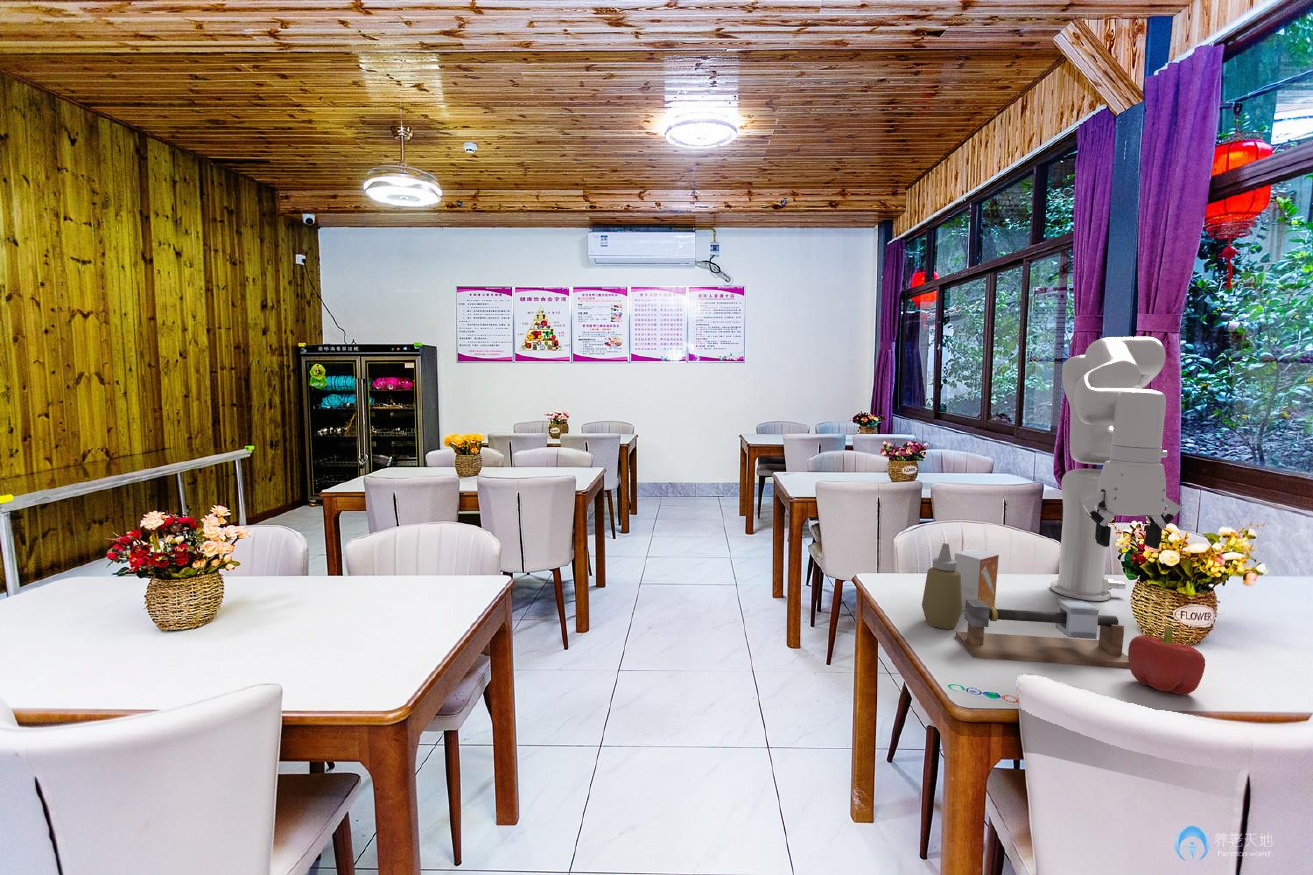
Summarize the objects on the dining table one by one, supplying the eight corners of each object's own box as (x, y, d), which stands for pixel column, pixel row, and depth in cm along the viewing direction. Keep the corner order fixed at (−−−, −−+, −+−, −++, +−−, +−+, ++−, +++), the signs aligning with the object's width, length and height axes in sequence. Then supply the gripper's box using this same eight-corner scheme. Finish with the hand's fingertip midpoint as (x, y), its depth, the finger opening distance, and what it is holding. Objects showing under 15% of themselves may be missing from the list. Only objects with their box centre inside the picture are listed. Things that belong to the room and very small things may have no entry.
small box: (976, 615, 141) (980, 559, 140) (950, 606, 146) (953, 552, 145) (995, 608, 145) (999, 554, 144) (969, 599, 151) (972, 547, 149)
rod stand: (1105, 645, 125) (1109, 602, 125) (1137, 668, 116) (1141, 621, 115) (955, 635, 129) (957, 594, 128) (973, 657, 119) (976, 612, 118)
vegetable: (1127, 666, 116) (1131, 615, 115) (1200, 684, 110) (1205, 630, 109) (1124, 688, 108) (1129, 633, 107) (1203, 709, 101) (1209, 651, 100)
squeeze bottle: (960, 621, 137) (966, 541, 135) (961, 634, 130) (967, 551, 128) (921, 614, 140) (925, 537, 139) (920, 627, 133) (924, 546, 131)
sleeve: (1082, 629, 123) (1084, 600, 123) (1096, 639, 119) (1098, 609, 118) (1055, 627, 124) (1057, 599, 123) (1068, 637, 119) (1070, 608, 119)
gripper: (1171, 454, 119) (1163, 543, 121) (1074, 452, 122) (1067, 539, 123) (1200, 459, 112) (1191, 554, 114) (1096, 456, 114) (1088, 549, 116)
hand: (1127, 545), depth 119 cm, fingers open, 8 cm apart
